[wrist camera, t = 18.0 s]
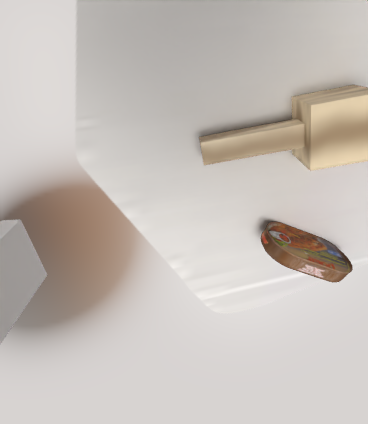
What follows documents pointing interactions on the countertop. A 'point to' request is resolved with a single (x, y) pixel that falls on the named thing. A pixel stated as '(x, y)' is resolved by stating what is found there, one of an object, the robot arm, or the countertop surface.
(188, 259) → the countertop surface
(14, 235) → the robot arm
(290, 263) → the tin
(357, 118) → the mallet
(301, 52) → the countertop surface
